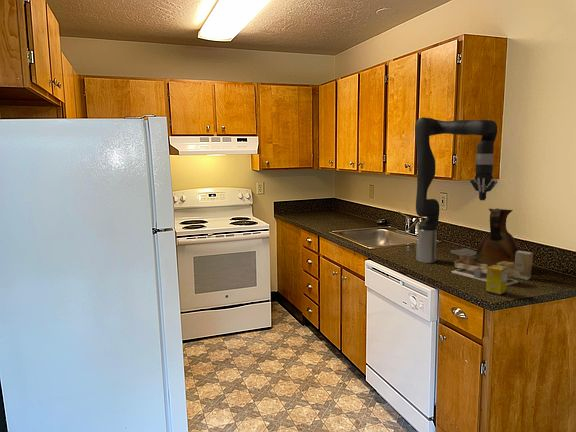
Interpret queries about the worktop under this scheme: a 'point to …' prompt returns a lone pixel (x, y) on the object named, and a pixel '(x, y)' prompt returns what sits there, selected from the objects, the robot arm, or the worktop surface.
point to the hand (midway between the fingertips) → (482, 200)
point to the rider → (467, 259)
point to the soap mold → (464, 250)
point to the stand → (478, 275)
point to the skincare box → (523, 265)
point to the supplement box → (496, 280)
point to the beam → (484, 267)
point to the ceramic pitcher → (497, 241)
